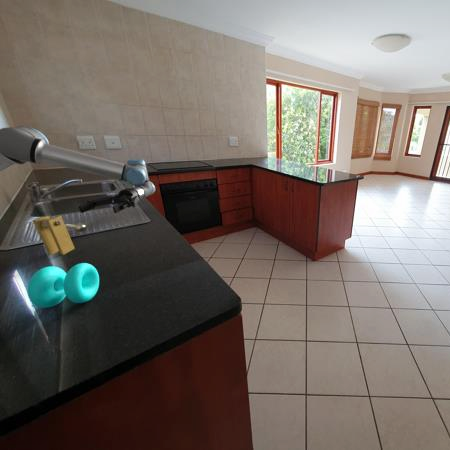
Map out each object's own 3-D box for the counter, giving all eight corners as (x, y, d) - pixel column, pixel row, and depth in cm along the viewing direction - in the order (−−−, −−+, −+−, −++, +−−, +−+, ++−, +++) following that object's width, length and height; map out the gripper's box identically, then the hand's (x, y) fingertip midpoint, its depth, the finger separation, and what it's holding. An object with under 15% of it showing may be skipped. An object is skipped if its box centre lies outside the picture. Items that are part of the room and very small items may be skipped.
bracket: (64, 247, 87) (49, 212, 81) (87, 247, 87) (73, 212, 81) (37, 262, 77) (17, 224, 72) (62, 262, 77) (44, 224, 72)
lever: (78, 232, 90) (80, 223, 90) (87, 232, 90) (89, 223, 90) (38, 227, 76) (40, 217, 76) (49, 227, 76) (51, 217, 76)
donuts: (63, 290, 65) (48, 259, 61) (105, 285, 67) (93, 255, 63) (35, 317, 56) (16, 283, 52) (85, 310, 58) (70, 277, 54)
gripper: (103, 187, 114) (62, 200, 94) (155, 188, 114) (125, 201, 95) (107, 202, 117) (69, 218, 97) (158, 202, 117) (130, 218, 98)
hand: (97, 209), depth 96 cm, fingers open, 13 cm apart
